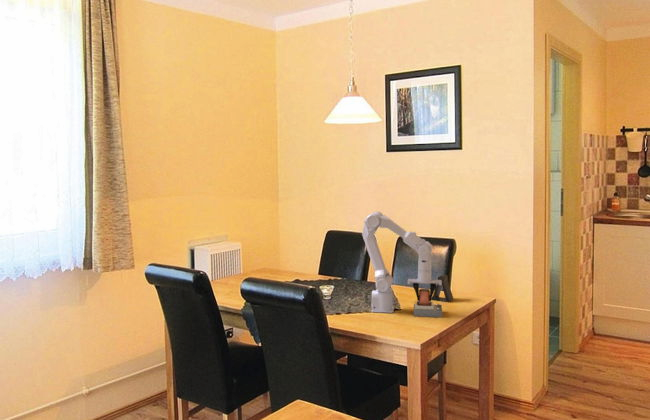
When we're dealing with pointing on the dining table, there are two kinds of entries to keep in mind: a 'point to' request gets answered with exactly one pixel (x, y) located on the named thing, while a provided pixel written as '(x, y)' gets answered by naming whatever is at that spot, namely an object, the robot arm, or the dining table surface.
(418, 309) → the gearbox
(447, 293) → the phone stand
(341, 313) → the dining table surface
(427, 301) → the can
